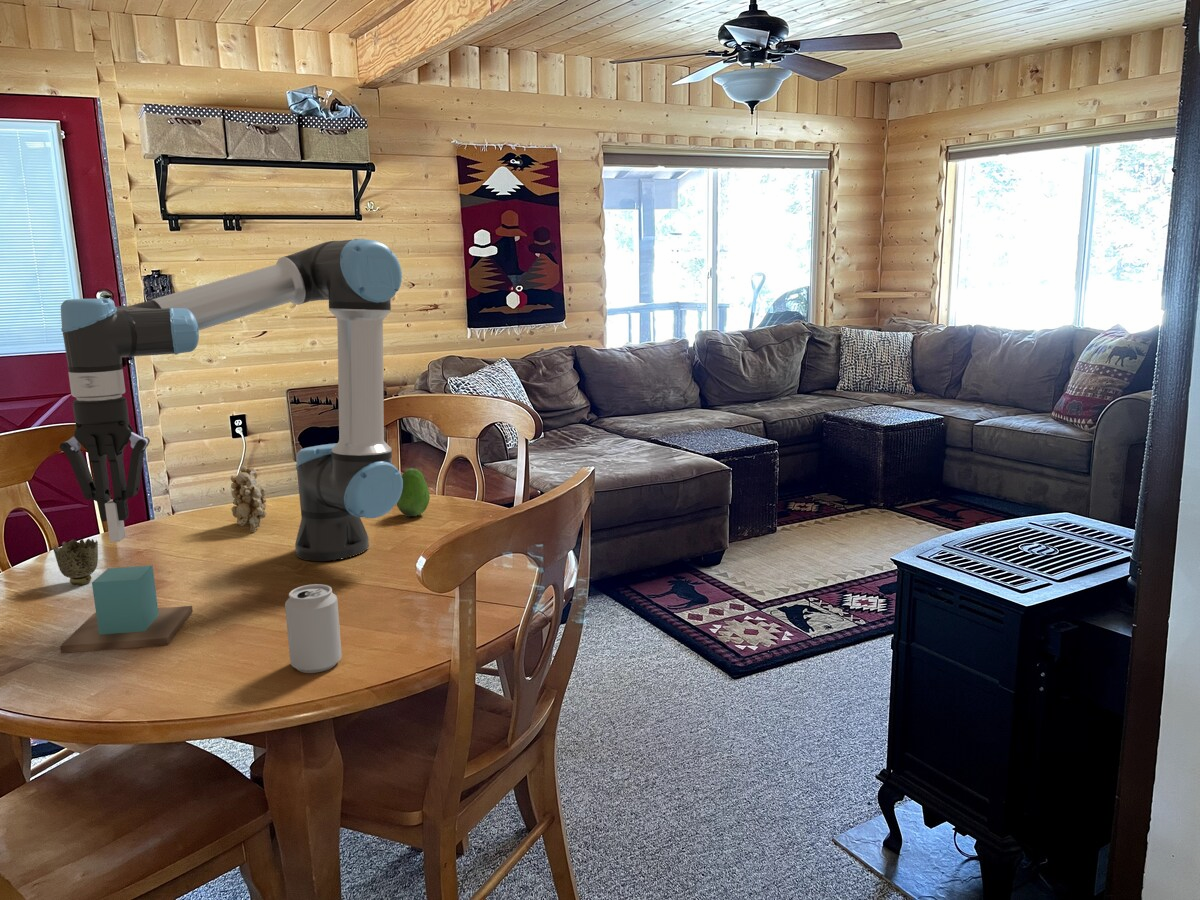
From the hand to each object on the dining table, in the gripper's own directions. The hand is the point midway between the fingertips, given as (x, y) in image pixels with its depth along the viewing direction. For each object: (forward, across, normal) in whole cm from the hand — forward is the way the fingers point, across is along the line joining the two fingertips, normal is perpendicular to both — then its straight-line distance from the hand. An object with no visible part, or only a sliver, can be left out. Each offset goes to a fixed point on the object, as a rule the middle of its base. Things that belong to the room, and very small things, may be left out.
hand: (117, 539), depth 144 cm
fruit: (+16, +44, +62) cm, 78 cm away
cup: (+16, -18, +27) cm, 36 cm away
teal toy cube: (+15, 0, 0) cm, 15 cm away
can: (+16, +33, -19) cm, 41 cm away
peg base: (+16, 0, 0) cm, 16 cm away
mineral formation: (+16, +7, +60) cm, 63 cm away
